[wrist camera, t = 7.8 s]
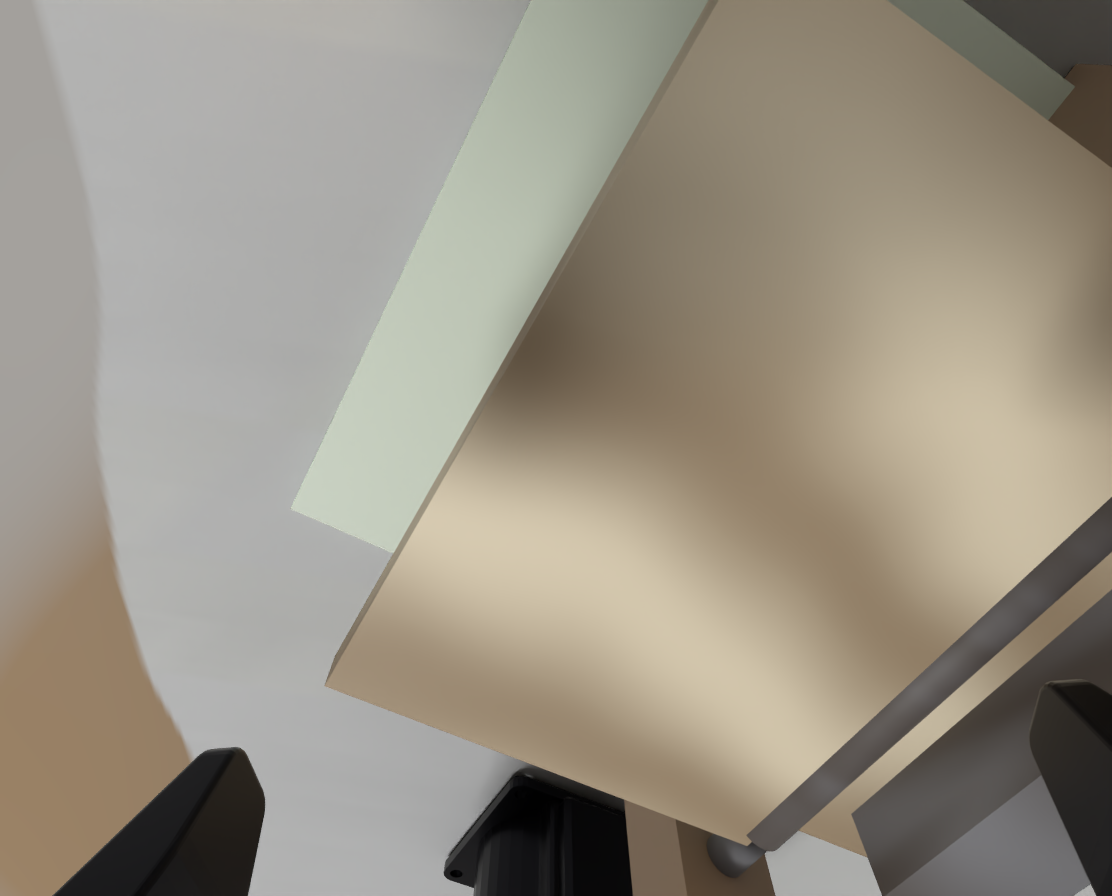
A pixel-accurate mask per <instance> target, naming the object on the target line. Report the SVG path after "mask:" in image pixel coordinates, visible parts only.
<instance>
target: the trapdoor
mask: <svg viewBox="0 0 1112 896" xmlns="http://www.w3.org/2000/svg"><path fill="white" fill-rule="evenodd" d="M1071 679H1082V680H1087V681H1089V682H1091V683H1093V684H1095V685H1097V686H1099V687H1100V688H1102V689H1104V690H1105V691H1107V692H1108V693H1110V694H1112V168H1111V167H1110V166H1108V165H1107V164H1106V163H1104V162H1103V161H1102V160H1100V159H1099V158H1098V157H1096V156H1095V155H1094V154H1092V153H1091V152H1090V151H1088V150H1087V149H1086V148H1084V147H1083V146H1082V145H1080V144H1079V143H1078V142H1076V141H1075V140H1074V139H1072V138H1071V137H1070V136H1068V135H1067V134H1066V133H1064V132H1063V131H1062V130H1060V129H1059V128H1058V127H1056V126H1055V125H1053V124H1052V123H1051V122H1049V121H1048V120H1047V119H1045V118H1044V117H1043V116H1041V115H1040V114H1039V113H1037V112H1036V111H1035V110H1033V109H1032V108H1031V107H1029V106H1028V105H1027V104H1025V103H1024V102H1023V101H1021V100H1020V99H1019V98H1017V97H1016V96H1015V95H1013V94H1012V93H1011V92H1009V91H1008V90H1007V89H1005V88H1004V87H1003V86H1001V85H1000V84H999V83H997V82H996V81H994V80H993V79H992V78H990V77H989V76H988V75H986V74H985V73H984V72H982V71H981V70H980V69H978V68H977V67H976V66H974V65H973V64H972V63H970V62H969V61H968V60H966V59H965V58H964V57H962V56H961V55H960V54H958V53H957V52H956V51H954V50H953V49H952V48H950V47H949V46H948V45H946V44H945V43H944V42H942V41H941V40H939V39H938V38H937V37H935V36H934V35H933V34H931V33H930V32H929V31H927V30H926V29H925V28H923V27H922V26H921V25H919V24H918V23H917V22H915V21H914V20H913V19H911V18H910V17H909V16H907V15H906V14H905V13H903V12H902V11H901V10H899V9H898V8H897V7H895V6H894V5H893V4H891V3H890V2H889V1H887V0H708V2H707V4H706V5H705V7H704V9H703V11H702V12H701V14H700V16H699V18H698V19H697V21H696V23H695V25H694V27H693V28H692V30H691V32H690V34H689V35H688V37H687V39H686V41H685V42H684V44H683V46H682V48H681V49H680V51H679V53H678V55H677V56H676V58H675V60H674V62H673V63H672V65H671V67H670V69H669V70H668V72H667V74H666V76H665V77H664V79H663V81H662V83H661V84H660V86H659V88H658V90H657V91H656V93H655V95H654V97H653V99H652V100H651V102H650V104H649V106H648V107H647V109H646V111H645V113H644V114H643V116H642V118H641V120H640V121H639V123H638V125H637V127H636V128H635V130H634V132H633V134H632V135H631V137H630V139H629V141H628V142H627V144H626V146H625V148H624V149H623V151H622V153H621V155H620V156H619V158H618V160H617V162H616V164H615V165H614V167H613V169H612V171H611V172H610V174H609V176H608V178H607V179H606V181H605V183H604V185H603V186H602V188H601V190H600V192H599V193H598V195H597V197H596V199H595V200H594V202H593V204H592V206H591V207H590V209H589V211H588V213H587V214H586V216H585V218H584V220H583V221H582V223H581V225H580V227H579V228H578V230H577V232H576V234H575V236H574V237H573V239H572V241H571V243H570V244H569V246H568V248H567V250H566V251H565V253H564V255H563V257H562V258H561V260H560V262H559V264H558V265H557V267H556V269H555V271H554V272H553V274H552V276H551V278H550V279H549V281H548V283H547V285H546V286H545V288H544V290H543V292H542V293H541V295H540V297H539V299H538V301H537V302H536V304H535V306H534V308H533V309H532V311H531V313H530V315H529V316H528V318H527V320H526V322H525V323H524V325H523V327H522V329H521V330H520V332H519V334H518V336H517V337H516V339H515V341H514V343H513V344H512V346H511V348H510V350H509V351H508V353H507V355H506V357H505V358H504V360H503V362H502V364H501V365H500V367H499V369H498V371H497V373H496V374H495V376H494V378H493V380H492V381H491V383H490V385H489V387H488V388H487V390H486V392H485V394H484V395H483V397H482V399H481V401H480V402H479V404H478V406H477V408H476V409H475V411H474V413H473V415H472V416H471V418H470V420H469V422H468V423H467V425H466V427H465V429H464V430H463V432H462V434H461V436H460V438H459V439H458V441H457V443H456V445H455V446H454V448H453V450H452V452H451V453H450V455H449V457H448V459H447V460H446V462H445V464H444V466H443V467H442V469H441V471H440V473H439V474H438V476H437V478H436V480H435V481H434V483H433V485H432V487H431V488H430V490H429V492H428V494H427V495H426V497H425V499H424V501H423V503H422V504H421V506H420V508H419V510H418V511H417V513H416V515H415V517H414V518H413V520H412V522H411V524H410V525H409V527H408V529H407V531H406V532H405V534H404V536H403V538H402V539H401V541H400V543H399V545H398V546H397V548H396V550H395V552H394V553H393V555H392V557H391V559H390V560H389V562H388V564H387V566H386V567H385V569H384V571H383V573H382V575H381V576H380V578H379V580H378V582H377V583H376V585H375V587H374V589H373V590H372V592H371V594H370V596H369V597H368V599H367V601H366V603H365V604H364V606H363V608H362V610H361V611H360V613H359V615H358V617H357V618H356V620H355V622H354V624H353V625H352V627H351V629H350V631H349V632H348V634H347V636H346V638H345V640H344V641H343V643H342V645H341V647H340V648H339V650H338V652H337V654H336V655H335V658H334V661H333V663H332V666H331V669H330V672H329V675H328V677H327V680H326V683H325V686H326V687H329V688H331V689H334V690H337V691H339V692H342V693H344V694H347V695H350V696H352V697H355V698H358V699H360V700H363V701H366V702H368V703H371V704H373V705H376V706H379V707H381V708H384V709H387V710H389V711H392V712H395V713H397V714H400V715H403V716H405V717H408V718H410V719H413V720H416V721H418V722H421V723H424V724H426V725H429V726H432V727H434V728H437V729H439V730H442V731H445V732H447V733H450V734H453V735H455V736H458V737H461V738H463V739H466V740H468V741H471V742H474V743H476V744H479V745H482V746H484V747H487V748H490V749H492V750H495V751H497V752H500V753H503V754H505V755H508V756H511V757H513V758H516V759H519V760H521V761H524V762H526V763H529V764H532V765H534V766H537V767H540V768H542V769H545V770H548V771H550V772H553V773H556V774H558V775H561V776H563V777H566V778H569V779H571V780H574V781H577V782H579V783H582V784H585V785H587V786H590V787H592V788H595V789H598V790H600V791H603V792H606V793H608V794H611V795H614V796H616V797H619V798H621V799H624V800H627V801H629V802H632V803H635V804H637V805H640V806H643V807H645V808H648V809H650V810H653V811H656V812H658V813H661V814H664V815H666V816H669V817H672V818H674V819H677V820H679V821H682V822H685V823H687V824H690V825H693V826H695V827H698V828H701V829H703V830H706V831H709V832H711V833H714V834H716V835H719V836H722V837H724V838H727V839H730V840H732V841H735V842H738V843H740V844H743V845H745V846H748V845H749V844H750V843H751V842H753V843H754V844H755V845H757V846H758V847H760V848H761V849H763V850H766V851H775V850H777V849H778V848H779V847H780V846H781V845H783V844H784V843H785V842H786V841H787V840H788V839H789V838H790V837H792V836H793V835H794V834H795V833H796V832H797V831H798V830H799V831H801V832H804V833H806V834H809V835H811V836H814V837H817V838H819V839H822V840H824V841H827V842H829V843H832V844H834V845H837V846H839V847H842V848H845V849H847V850H850V851H852V852H855V853H857V854H860V855H862V856H865V857H867V858H868V859H869V862H870V865H871V867H872V870H873V873H874V875H875V878H876V880H877V883H878V886H879V888H880V891H881V893H882V896H1073V895H1075V894H1076V893H1078V892H1079V891H1081V890H1082V889H1084V888H1085V887H1087V886H1088V885H1090V881H1089V879H1088V877H1087V875H1086V873H1085V871H1084V869H1083V867H1082V864H1081V862H1080V860H1079V858H1078V855H1077V853H1076V851H1075V849H1074V847H1073V844H1072V842H1071V840H1070V838H1069V835H1068V833H1067V831H1066V829H1065V827H1064V824H1063V822H1062V820H1061V818H1060V816H1059V813H1058V811H1057V809H1056V807H1055V804H1054V802H1053V800H1052V798H1051V796H1050V793H1049V791H1048V789H1047V787H1046V784H1045V782H1044V780H1043V778H1042V776H1041V773H1040V771H1039V769H1038V767H1037V765H1036V762H1035V760H1034V758H1033V755H1032V753H1031V749H1030V745H1029V729H1030V725H1031V721H1032V718H1033V714H1034V710H1035V706H1036V703H1037V699H1038V695H1039V691H1040V689H1041V687H1042V686H1043V685H1044V684H1045V683H1046V682H1050V681H1059V680H1071Z"/></svg>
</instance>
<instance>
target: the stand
mask: <svg viewBox="0 0 1112 896" xmlns="http://www.w3.org/2000/svg"><path fill="white" fill-rule="evenodd" d="M887 1H889V2H890V3H891V4H893V5H894V6H895V7H897V8H898V9H899V10H901V11H902V12H903V13H905V14H906V15H907V16H909V17H910V18H911V19H913V20H914V21H915V22H917V23H918V24H919V25H921V26H922V27H923V28H925V29H926V30H927V31H929V32H930V33H931V34H933V35H934V36H935V37H937V38H938V39H939V40H941V41H942V42H944V43H945V44H946V45H948V46H949V47H950V48H952V49H953V50H954V51H956V52H957V53H958V54H960V55H961V56H962V57H964V58H965V59H966V60H968V61H969V62H970V63H972V64H973V65H974V66H976V67H977V68H978V69H980V70H981V71H982V72H984V73H985V74H986V75H988V76H989V77H990V78H992V79H993V80H994V81H996V82H997V83H999V84H1000V85H1001V86H1003V87H1004V88H1005V89H1007V90H1008V91H1009V92H1011V93H1012V94H1013V95H1015V96H1016V97H1017V98H1019V99H1020V100H1021V101H1023V102H1024V103H1025V104H1027V105H1028V106H1029V107H1031V108H1032V109H1033V110H1035V111H1036V112H1037V113H1039V114H1040V115H1041V116H1043V117H1044V118H1045V119H1047V120H1048V121H1049V122H1051V123H1052V124H1053V125H1055V126H1056V127H1058V128H1059V129H1060V130H1062V131H1063V132H1064V133H1066V134H1067V135H1068V136H1070V137H1071V138H1072V139H1074V140H1075V141H1076V142H1078V143H1079V144H1080V145H1082V146H1083V147H1084V148H1086V149H1087V150H1088V151H1090V152H1091V153H1092V154H1094V155H1095V156H1096V157H1098V158H1099V159H1100V160H1102V161H1103V162H1104V163H1106V164H1107V165H1108V166H1110V167H1111V168H1112V65H1093V64H1076V65H1075V66H1074V67H1073V68H1072V70H1071V71H1070V72H1069V73H1068V75H1067V76H1066V77H1065V78H1063V77H1062V76H1061V75H1059V74H1058V73H1057V72H1055V71H1054V70H1053V69H1052V68H1050V67H1049V66H1048V65H1046V64H1045V63H1044V62H1042V61H1041V60H1040V59H1039V58H1037V57H1036V56H1035V55H1033V54H1032V53H1031V52H1029V51H1028V50H1027V49H1026V48H1024V47H1023V46H1022V45H1020V44H1019V43H1018V42H1016V41H1015V40H1014V39H1013V38H1011V37H1010V36H1009V35H1007V34H1006V33H1005V32H1003V31H1002V30H1001V29H1000V28H998V27H997V26H996V25H994V24H993V23H992V22H990V21H989V20H988V19H987V18H985V17H984V16H983V15H981V14H980V13H979V12H977V11H976V10H975V9H974V8H972V7H971V6H970V5H968V4H967V3H966V2H964V1H963V0H887ZM707 2H708V0H531V1H530V3H529V5H528V7H527V9H526V11H525V14H524V16H523V18H522V20H521V22H520V24H519V26H518V28H517V31H516V33H515V35H514V37H513V39H512V41H511V43H510V45H509V47H508V50H507V52H506V54H505V56H504V58H503V60H502V62H501V64H500V66H499V69H498V71H497V73H496V75H495V77H494V79H493V81H492V83H491V86H490V88H489V90H488V92H487V94H486V96H485V98H484V100H483V102H482V105H481V107H480V109H479V111H478V113H477V115H476V117H475V119H474V121H473V124H472V126H471V128H470V130H469V132H468V134H467V136H466V138H465V140H464V143H463V145H462V147H461V149H460V151H459V153H458V155H457V157H456V160H455V162H454V164H453V166H452V168H451V170H450V172H449V174H448V176H447V179H446V181H445V183H444V185H443V187H442V189H441V191H440V193H439V195H438V198H437V200H436V202H435V204H434V206H433V208H432V210H431V212H430V215H429V217H428V219H427V221H426V223H425V225H424V227H423V229H422V231H421V234H420V236H419V238H418V240H417V242H416V244H415V246H414V248H413V250H412V253H411V255H410V257H409V259H408V261H407V263H406V265H405V267H404V270H403V272H402V274H401V276H400V278H399V280H398V282H397V284H396V286H395V289H394V291H393V293H392V295H391V297H390V299H389V301H388V303H387V305H386V308H385V310H384V312H383V314H382V316H381V318H380V320H379V322H378V324H377V327H376V329H375V331H374V333H373V335H372V337H371V339H370V341H369V344H368V346H367V348H366V350H365V352H364V354H363V356H362V358H361V360H360V363H359V365H358V367H357V369H356V371H355V373H354V375H353V377H352V379H351V382H350V384H349V386H348V388H347V390H346V392H345V394H344V396H343V399H342V401H341V403H340V405H339V407H338V409H337V411H336V413H335V415H334V418H333V420H332V422H331V424H330V426H329V428H328V430H327V432H326V434H325V437H324V439H323V441H322V443H321V445H320V447H319V449H318V451H317V454H316V456H315V458H314V460H313V462H312V464H311V466H310V468H309V470H308V473H307V475H306V477H305V479H304V481H303V483H302V485H301V487H300V489H299V492H298V494H297V496H296V498H295V500H294V502H293V504H292V506H291V509H292V510H294V511H296V512H298V513H301V514H303V515H305V516H308V517H310V518H312V519H315V520H317V521H319V522H322V523H324V524H326V525H328V526H331V527H333V528H335V529H338V530H340V531H342V532H345V533H347V534H349V535H352V536H354V537H356V538H359V539H361V540H363V541H365V542H368V543H370V544H372V545H375V546H377V547H379V548H382V549H384V550H386V551H389V552H391V553H394V552H395V550H396V548H397V546H398V545H399V543H400V541H401V539H402V538H403V536H404V534H405V532H406V531H407V529H408V527H409V525H410V524H411V522H412V520H413V518H414V517H415V515H416V513H417V511H418V510H419V508H420V506H421V504H422V503H423V501H424V499H425V497H426V495H427V494H428V492H429V490H430V488H431V487H432V485H433V483H434V481H435V480H436V478H437V476H438V474H439V473H440V471H441V469H442V467H443V466H444V464H445V462H446V460H447V459H448V457H449V455H450V453H451V452H452V450H453V448H454V446H455V445H456V443H457V441H458V439H459V438H460V436H461V434H462V432H463V430H464V429H465V427H466V425H467V423H468V422H469V420H470V418H471V416H472V415H473V413H474V411H475V409H476V408H477V406H478V404H479V402H480V401H481V399H482V397H483V395H484V394H485V392H486V390H487V388H488V387H489V385H490V383H491V381H492V380H493V378H494V376H495V374H496V373H497V371H498V369H499V367H500V365H501V364H502V362H503V360H504V358H505V357H506V355H507V353H508V351H509V350H510V348H511V346H512V344H513V343H514V341H515V339H516V337H517V336H518V334H519V332H520V330H521V329H522V327H523V325H524V323H525V322H526V320H527V318H528V316H529V315H530V313H531V311H532V309H533V308H534V306H535V304H536V302H537V301H538V299H539V297H540V295H541V293H542V292H543V290H544V288H545V286H546V285H547V283H548V281H549V279H550V278H551V276H552V274H553V272H554V271H555V269H556V267H557V265H558V264H559V262H560V260H561V258H562V257H563V255H564V253H565V251H566V250H567V248H568V246H569V244H570V243H571V241H572V239H573V237H574V236H575V234H576V232H577V230H578V228H579V227H580V225H581V223H582V221H583V220H584V218H585V216H586V214H587V213H588V211H589V209H590V207H591V206H592V204H593V202H594V200H595V199H596V197H597V195H598V193H599V192H600V190H601V188H602V186H603V185H604V183H605V181H606V179H607V178H608V176H609V174H610V172H611V171H612V169H613V167H614V165H615V164H616V162H617V160H618V158H619V156H620V155H621V153H622V151H623V149H624V148H625V146H626V144H627V142H628V141H629V139H630V137H631V135H632V134H633V132H634V130H635V128H636V127H637V125H638V123H639V121H640V120H641V118H642V116H643V114H644V113H645V111H646V109H647V107H648V106H649V104H650V102H651V100H652V99H653V97H654V95H655V93H656V91H657V90H658V88H659V86H660V84H661V83H662V81H663V79H664V77H665V76H666V74H667V72H668V70H669V69H670V67H671V65H672V63H673V62H674V60H675V58H676V56H677V55H678V53H679V51H680V49H681V48H682V46H683V44H684V42H685V41H686V39H687V37H688V35H689V34H690V32H691V30H692V28H693V27H694V25H695V23H696V21H697V19H698V18H699V16H700V14H701V12H702V11H703V9H704V7H705V5H706V4H707ZM624 803H625V814H626V825H627V836H628V846H629V857H630V868H631V879H632V890H633V896H775V893H774V889H773V885H772V881H771V877H770V873H769V869H768V865H767V861H766V858H765V853H766V850H763V849H761V848H760V847H758V846H757V845H755V844H754V843H753V842H751V843H750V844H749V845H748V846H745V845H743V844H740V843H738V842H735V841H732V840H730V839H727V838H724V837H722V836H719V835H716V834H714V833H711V832H709V831H706V830H703V829H701V828H698V827H695V826H693V825H690V824H687V823H685V822H682V821H679V820H677V819H674V818H672V817H669V816H666V815H664V814H661V813H658V812H656V811H653V810H650V809H648V808H645V807H643V806H640V805H637V804H635V803H632V802H629V801H627V800H624Z"/></svg>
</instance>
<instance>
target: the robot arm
mask: <svg viewBox="0 0 1112 896" xmlns="http://www.w3.org/2000/svg"><path fill="white" fill-rule="evenodd" d="M1029 745H1030V749H1031V753H1032V755H1033V758H1034V760H1035V762H1036V765H1037V767H1038V769H1039V771H1040V773H1041V776H1042V778H1043V780H1044V782H1045V784H1046V787H1047V789H1048V791H1049V793H1050V796H1051V798H1052V800H1053V802H1054V804H1055V807H1056V809H1057V811H1058V813H1059V816H1060V818H1061V820H1062V822H1063V824H1064V827H1065V829H1066V831H1067V833H1068V835H1069V838H1070V840H1071V842H1072V844H1073V847H1074V849H1075V851H1076V853H1077V855H1078V858H1079V860H1080V862H1081V864H1082V867H1083V869H1084V871H1085V873H1086V875H1087V877H1088V879H1089V881H1090V884H1091V886H1092V888H1093V890H1094V892H1095V894H1096V896H1112V694H1110V693H1108V692H1107V691H1105V690H1104V689H1102V688H1100V687H1099V686H1097V685H1095V684H1093V683H1091V682H1089V681H1087V680H1082V679H1071V680H1059V681H1050V682H1046V683H1045V684H1044V685H1043V686H1042V687H1041V689H1040V691H1039V695H1038V699H1037V703H1036V706H1035V710H1034V714H1033V718H1032V721H1031V725H1030V729H1029ZM264 813H265V797H264V792H263V789H262V787H261V785H260V783H259V780H258V778H257V776H256V774H255V772H254V769H253V767H252V765H251V763H250V761H249V758H248V756H247V754H246V753H245V751H244V750H242V749H241V748H238V747H231V748H218V749H210V750H207V751H205V752H203V753H202V754H200V755H199V756H198V757H197V758H196V759H195V760H194V761H192V762H191V763H190V764H189V765H188V766H187V767H186V768H185V769H184V770H183V771H182V772H181V773H180V774H179V775H178V776H177V777H176V778H175V779H174V780H173V781H172V782H171V783H170V784H168V785H167V786H166V787H165V788H164V789H163V790H162V791H161V792H160V793H159V794H158V795H157V796H156V797H155V798H154V799H153V800H152V801H151V802H150V803H149V804H148V805H147V806H146V807H145V808H143V810H141V811H140V812H139V813H138V814H137V815H136V816H135V817H134V818H133V819H132V820H131V821H130V822H129V823H128V824H127V825H126V826H125V827H124V828H123V829H122V830H120V831H119V832H118V833H117V834H116V835H115V836H114V837H113V838H112V839H111V840H110V841H109V842H108V843H107V844H106V845H105V846H104V847H103V848H102V849H101V850H100V851H99V852H98V853H97V854H96V855H94V856H93V857H92V858H91V859H90V860H89V861H88V862H87V863H86V864H85V865H84V866H83V867H82V868H81V869H80V870H79V871H78V872H77V873H76V874H75V875H74V876H73V877H71V878H70V879H69V880H68V881H67V882H66V883H65V884H64V885H63V886H62V887H61V888H60V889H59V890H58V891H57V892H56V893H55V894H54V895H53V896H248V892H249V887H250V882H251V877H252V873H253V868H254V863H255V858H256V853H257V848H258V843H259V838H260V833H261V828H262V823H263V818H264ZM444 876H445V877H446V878H447V879H449V880H451V881H454V882H457V883H460V884H463V885H466V886H469V887H472V888H474V896H633V890H632V879H631V868H630V857H629V846H628V836H627V825H626V814H625V813H623V812H620V811H617V810H615V809H612V808H609V807H607V806H604V805H601V804H599V803H596V802H593V801H591V800H588V799H585V798H583V797H580V796H577V795H575V794H572V793H569V792H567V791H564V790H561V789H559V788H556V787H553V786H551V785H548V784H545V783H542V782H540V781H537V780H534V779H532V778H529V777H525V776H518V777H515V778H513V779H511V780H510V781H509V783H508V784H507V785H506V786H505V788H504V789H503V790H502V791H501V793H500V794H499V795H498V796H497V798H496V799H495V800H494V801H493V803H492V804H491V805H490V806H489V808H488V809H487V810H486V811H485V813H484V814H483V815H482V816H481V818H480V819H479V820H478V821H477V823H476V824H475V825H474V826H473V828H472V829H471V830H470V831H469V833H468V834H467V835H466V836H465V838H464V839H463V840H462V841H461V843H460V844H459V845H458V846H457V848H456V849H455V850H454V851H453V852H452V854H451V855H450V856H449V857H448V859H447V860H446V862H445V867H444Z"/></svg>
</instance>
